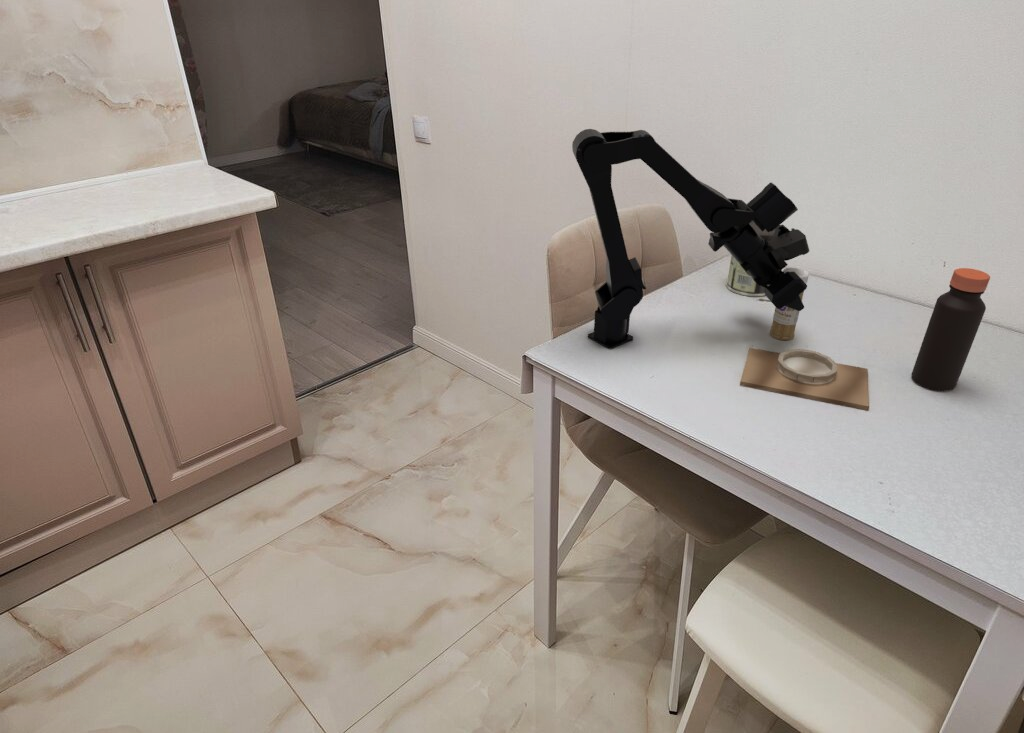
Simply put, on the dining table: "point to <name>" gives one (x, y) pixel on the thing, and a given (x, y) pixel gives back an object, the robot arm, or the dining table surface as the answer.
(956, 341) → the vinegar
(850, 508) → the dining table surface
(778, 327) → the sprinkles bottle
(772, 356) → the dish board
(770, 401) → the dining table surface
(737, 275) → the coffee can
